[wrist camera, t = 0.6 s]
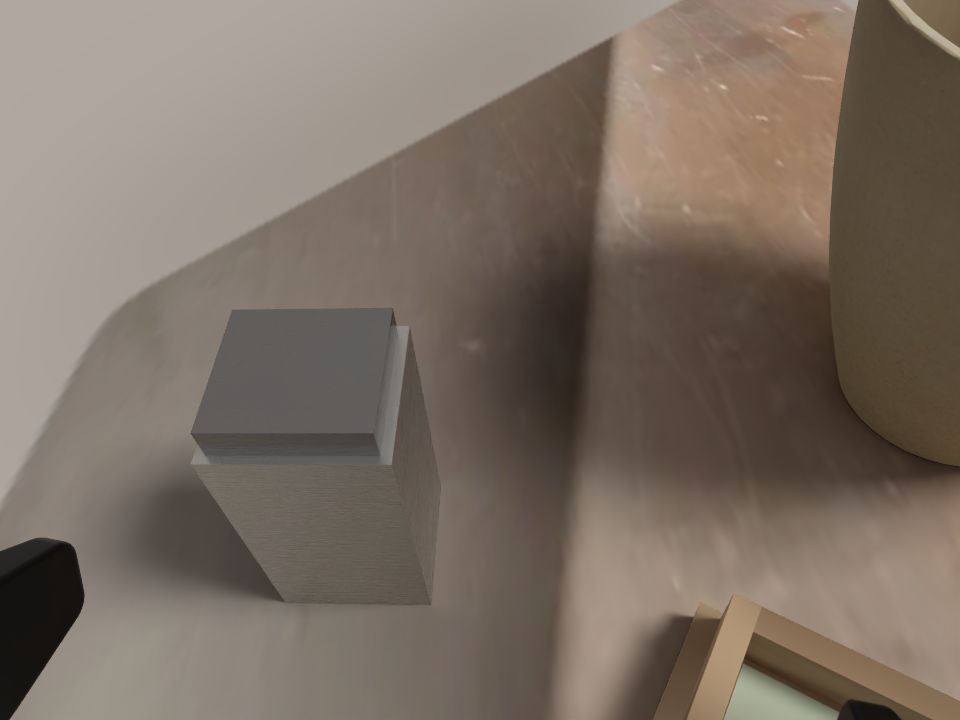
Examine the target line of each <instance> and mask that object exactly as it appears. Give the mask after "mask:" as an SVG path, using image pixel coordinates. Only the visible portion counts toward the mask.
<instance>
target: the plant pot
mask: <svg viewBox="0 0 960 720" xmlns="http://www.w3.org/2000/svg"><path fill="white" fill-rule="evenodd" d="M829 272H830V303H831V320H832V332H833V341H834V349H835V357H836V364H837V371H838V378H839V382H840V386H841V388H842V391H843V393H844V396H845V397H846V399H847V401H848V402H849V404H850V406H851V407H852V408H853V410H854V411H855V413H856V414H857V415H858V416H859V417H860V418H861V420H862V421H863V422H865V423H866V424H867V425H868V426H869V427H870V428H871V429H872V430H873V431H875V432H876V433H877V434H879V435H880V436H882V437H883V438H884V439H886V440H887V441H889V442H891V443H892V444H894V445H896V446H898V447H899V448H901V449H903V450H905V451H907V452H909V453H912V454H914V455H917V456H919V457H922V458H925V459H928V460H931V461H934V462H938V463H942V464H948V465H954V466H960V0H859V1H858V6H857V11H856V16H855V22H854V27H853V33H852V39H851V45H850V51H849V57H848V63H847V69H846V74H845V81H844V88H843V95H842V102H841V109H840V117H839V124H838V132H837V140H836V149H835V158H834V167H833V182H832V197H831V213H830V243H829Z"/></svg>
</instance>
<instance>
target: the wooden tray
mask: <svg viewBox="0 0 960 720" xmlns="http://www.w3.org/2000/svg"><path fill="white" fill-rule="evenodd" d="M849 699H856V700H861V701H866V702H871V703H876V704H881V705H885V706H887V707H889V708H891V709H892V710H894V711H895V712H896V713H897V714H898V715H899V716H900V718H901V719H902V720H960V701H958V700H956V699H954V698H952V697H950V696H948V695H946V694H944V693H942V692H940V691H937V690H935V689H933V688H931V687H929V686H927V685H925V684H923V683H921V682H919V681H916V680H914V679H912V678H910V677H908V676H906V675H904V674H902V673H900V672H898V671H895V670H893V669H891V668H889V667H887V666H885V665H883V664H881V663H879V662H877V661H875V660H872V659H870V658H868V657H866V656H864V655H862V654H860V653H858V652H856V651H854V650H851V649H849V648H847V647H845V646H843V645H841V644H839V643H837V642H835V641H833V640H830V639H828V638H826V637H824V636H822V635H820V634H818V633H816V632H814V631H812V630H809V629H807V628H805V627H803V626H801V625H799V624H797V623H795V622H793V621H791V620H788V619H786V618H784V617H782V616H780V615H778V614H776V613H774V612H772V611H770V610H768V609H765V608H763V607H761V606H759V605H757V604H755V603H753V602H751V601H749V600H747V599H744V598H742V597H740V596H738V595H736V594H733V596H732V598H731V600H730V602H729V604H728V606H727V607H726V609H725V611H724V613H721V612H719V611H717V610H715V609H713V608H711V607H709V606H707V605H705V604H703V603H700V605H699V607H698V609H697V611H696V614H695V616H694V618H693V621H692V623H691V626H690V628H689V631H688V633H687V636H686V638H685V641H684V643H683V646H682V648H681V651H680V653H679V656H678V658H677V661H676V663H675V666H674V668H673V670H672V673H671V675H670V678H669V680H668V683H667V685H666V688H665V690H664V693H663V695H662V698H661V700H660V703H659V705H658V708H657V710H656V713H655V715H654V718H653V720H837V718H838V715H839V712H840V709H841V707H842V705H843V704H844V702H845V701H847V700H849Z"/></svg>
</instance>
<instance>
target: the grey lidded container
mask: <svg viewBox="0 0 960 720" xmlns="http://www.w3.org/2000/svg"><path fill="white" fill-rule="evenodd" d="M191 435H192V436H193V438H194V439H195V441H196V442H197V446H196V449H195V452H194V455H193V458H192V461H191V466H192V467H193V469H194V470H195V472H196V473H197V475H198V476H199V478H200V479H201V480H202V482H203V483H204V485H205V486H206V488H207V489H208V491H209V492H210V494H211V495H212V496H213V498H214V499H215V501H216V502H217V504H218V505H219V507H220V508H221V510H222V511H223V512H224V514H225V515H226V517H227V518H228V520H229V521H230V523H231V524H232V526H233V527H234V528H235V530H236V531H237V533H238V534H239V536H240V537H241V539H242V540H243V542H244V543H245V544H246V546H247V547H248V549H249V550H250V552H251V553H252V555H253V556H254V558H255V559H256V561H257V562H258V563H259V565H260V566H261V568H262V569H263V571H264V572H265V574H266V575H267V577H268V578H269V579H270V581H271V582H272V584H273V585H274V587H275V588H276V590H277V591H278V593H279V594H280V595H281V597H282V598H283V600H284V601H285V603H344V604H409V605H432V592H433V580H434V567H435V554H436V542H437V529H438V517H439V504H440V492H441V484H440V479H439V474H438V469H437V464H436V459H435V453H434V448H433V443H432V438H431V433H430V428H429V423H428V418H427V412H426V407H425V402H424V397H423V392H422V387H421V382H420V377H419V371H418V366H417V361H416V356H415V351H414V346H413V341H412V336H411V330H410V326H396V321H395V316H394V312H393V308H351V309H266V310H232V312H231V315H230V318H229V321H228V324H227V327H226V330H225V333H224V336H223V339H222V342H221V345H220V348H219V351H218V354H217V357H216V360H215V363H214V366H213V369H212V372H211V375H210V377H209V380H208V383H207V386H206V389H205V392H204V395H203V398H202V401H201V404H200V407H199V410H198V413H197V416H196V419H195V422H194V425H193V428H192V431H191Z"/></svg>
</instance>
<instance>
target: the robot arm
mask: <svg viewBox="0 0 960 720" xmlns="http://www.w3.org/2000/svg"><path fill="white" fill-rule="evenodd" d="M84 596H85V595H84V589H83V584H82V579H81V574H80V569H79V564H78V559H77V554H76V551H75V549H74V547H73V546H72V545H71V544H69V543H67V542H64V541H59V540H54V539H49V538H35V539H32V540H29V541H26V542H24V543H21V544H18V545H16V546H13V547H10V548H8V549H5V550H2V551H0V720H10V718H11V717H12V715H13V714H14V712H15V711H16V710H17V708H18V707H19V705H20V704H21V702H22V701H23V699H24V698H25V696H26V695H27V693H28V692H29V690H30V689H31V687H32V686H33V684H34V682H35V681H36V679H37V678H38V676H39V675H40V673H41V672H42V670H43V669H44V667H45V666H46V664H47V663H48V661H49V660H50V658H51V657H52V655H53V654H54V652H55V651H56V649H57V648H58V646H59V645H60V643H61V642H62V640H63V639H64V637H65V636H66V634H67V633H68V631H69V630H70V628H71V627H72V625H73V624H74V622H75V621H76V619H77V618H78V616H79V614H80V612H81V610H82V607H83V603H84ZM837 720H902V719H901V718H900V716H899V715H898V714H897V713H896V712H895V711H894V710H892V709H891V708H889V707H887V706H885V705H881V704H876V703H871V702H866V701H861V700H856V699H849V700H847V701H845V702H844V704H843V705H842V707H841V709H840V712H839V715H838V718H837Z"/></svg>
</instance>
